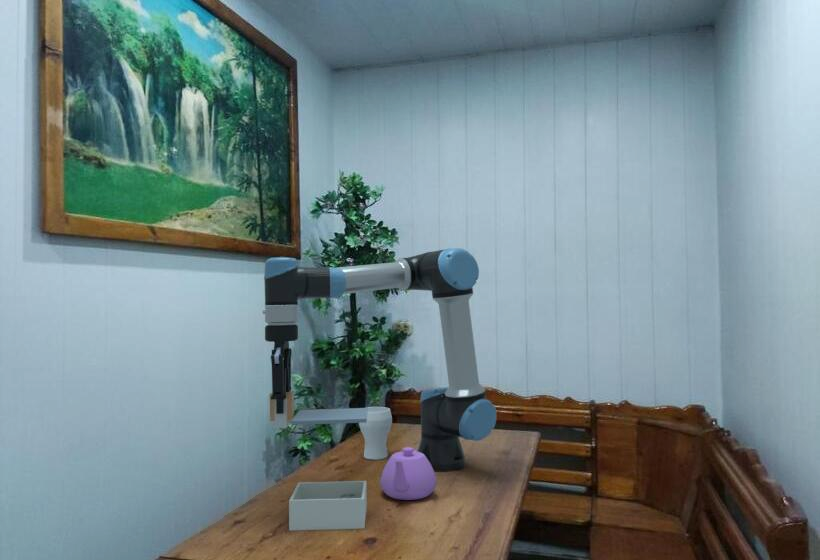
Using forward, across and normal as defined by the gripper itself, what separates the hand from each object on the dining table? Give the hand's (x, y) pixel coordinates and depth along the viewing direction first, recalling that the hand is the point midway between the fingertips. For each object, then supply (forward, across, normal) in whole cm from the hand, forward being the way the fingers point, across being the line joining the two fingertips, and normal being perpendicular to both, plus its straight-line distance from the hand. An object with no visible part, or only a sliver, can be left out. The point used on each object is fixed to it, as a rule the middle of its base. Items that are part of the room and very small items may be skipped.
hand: (282, 425), depth 124 cm
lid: (-1, 0, +9) cm, 9 cm away
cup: (+22, -49, +21) cm, 57 cm away
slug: (+20, +1, +15) cm, 25 cm away
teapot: (+22, -10, +29) cm, 38 cm away
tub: (+21, +3, +11) cm, 24 cm away
